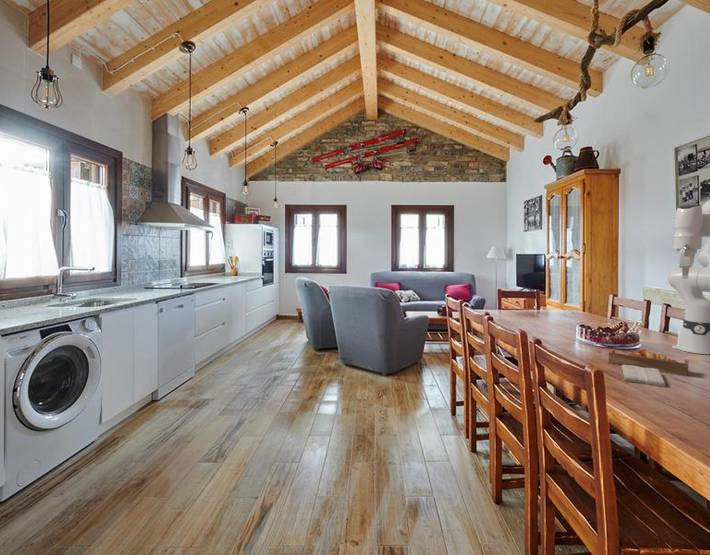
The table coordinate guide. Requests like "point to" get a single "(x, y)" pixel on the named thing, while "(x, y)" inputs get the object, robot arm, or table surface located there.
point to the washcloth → (642, 375)
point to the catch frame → (649, 363)
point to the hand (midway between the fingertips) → (685, 278)
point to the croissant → (650, 355)
